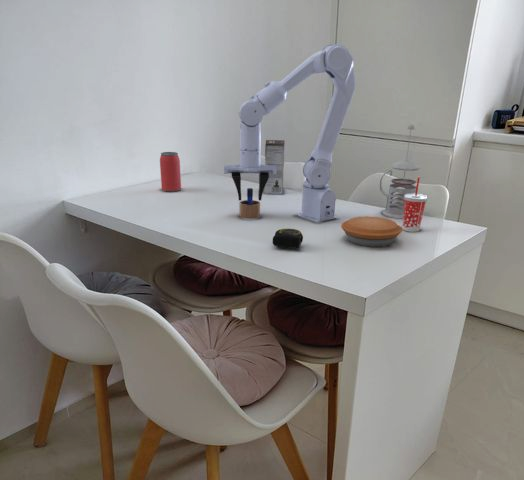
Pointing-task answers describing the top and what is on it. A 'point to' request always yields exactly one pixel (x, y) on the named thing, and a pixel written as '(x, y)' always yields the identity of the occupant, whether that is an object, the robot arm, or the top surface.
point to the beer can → (170, 171)
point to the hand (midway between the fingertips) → (249, 199)
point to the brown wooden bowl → (249, 209)
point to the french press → (398, 207)
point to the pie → (371, 231)
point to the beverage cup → (413, 210)
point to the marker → (249, 196)
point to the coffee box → (275, 158)
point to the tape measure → (288, 238)
